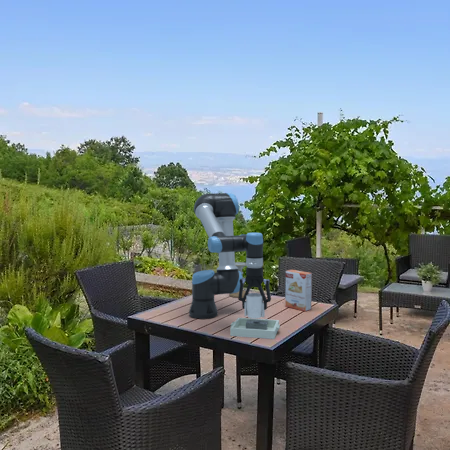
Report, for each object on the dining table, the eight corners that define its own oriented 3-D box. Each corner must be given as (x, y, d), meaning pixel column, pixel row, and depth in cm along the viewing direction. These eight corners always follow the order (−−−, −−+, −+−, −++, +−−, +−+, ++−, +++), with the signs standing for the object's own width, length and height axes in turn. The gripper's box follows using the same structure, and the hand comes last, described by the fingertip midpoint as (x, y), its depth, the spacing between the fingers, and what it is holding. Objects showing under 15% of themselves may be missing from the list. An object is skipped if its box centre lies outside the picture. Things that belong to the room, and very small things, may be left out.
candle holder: (238, 299, 283) (238, 266, 281) (225, 295, 292) (225, 263, 290) (253, 295, 291) (253, 263, 289) (239, 292, 300) (239, 261, 298)
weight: (245, 329, 222) (245, 321, 222) (247, 326, 226) (247, 319, 226) (266, 330, 220) (266, 323, 219) (267, 327, 224) (268, 320, 223)
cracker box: (284, 307, 264) (285, 270, 262) (291, 305, 269) (291, 269, 267) (305, 311, 254) (305, 273, 252) (311, 309, 259) (312, 272, 257)
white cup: (264, 318, 211) (264, 296, 211) (246, 319, 211) (246, 297, 210) (262, 313, 219) (262, 292, 218) (245, 314, 219) (245, 293, 218)
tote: (227, 337, 213) (227, 328, 213) (235, 326, 229) (235, 317, 229) (277, 341, 208) (277, 331, 207) (281, 329, 224) (281, 320, 224)
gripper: (230, 267, 212) (231, 316, 214) (275, 269, 207) (275, 319, 209) (234, 264, 219) (234, 312, 221) (277, 266, 215) (277, 315, 217)
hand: (254, 315), depth 215 cm, fingers closed on white cup, 7 cm apart
